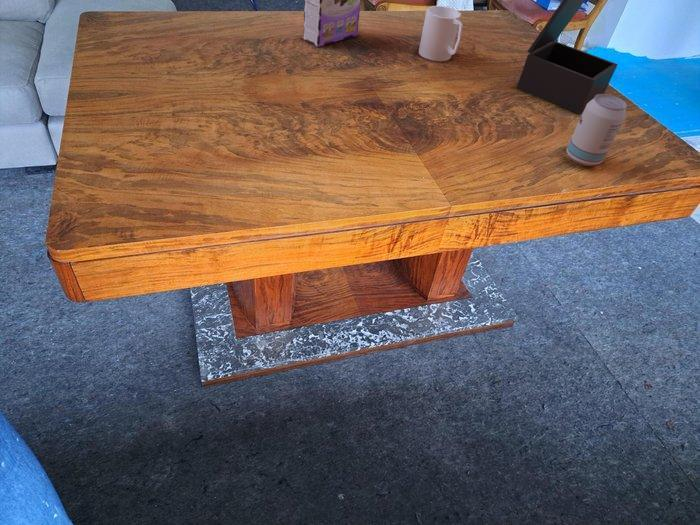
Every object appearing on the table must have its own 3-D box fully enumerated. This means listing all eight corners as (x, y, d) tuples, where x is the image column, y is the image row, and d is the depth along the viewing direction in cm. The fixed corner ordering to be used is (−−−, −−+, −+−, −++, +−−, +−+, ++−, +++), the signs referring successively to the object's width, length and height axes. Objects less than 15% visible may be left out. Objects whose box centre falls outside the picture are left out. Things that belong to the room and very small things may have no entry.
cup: (440, 69, 121) (449, 26, 114) (412, 49, 128) (419, 7, 121) (466, 65, 124) (478, 22, 117) (438, 45, 131) (447, 4, 124)
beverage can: (572, 145, 101) (598, 88, 93) (605, 159, 99) (635, 102, 90) (558, 158, 97) (584, 100, 89) (593, 173, 94) (623, 115, 86)
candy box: (342, 28, 134) (348, -42, 122) (358, 36, 131) (365, -35, 119) (302, 39, 126) (304, -35, 114) (317, 47, 123) (321, -28, 112)
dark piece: (602, 96, 119) (618, 64, 114) (578, 114, 111) (594, 80, 106) (542, 72, 126) (554, 40, 120) (516, 88, 118) (527, 54, 112)
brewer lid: (606, -28, 107) (574, -53, 109) (579, -18, 99) (546, -44, 101) (556, 39, 120) (529, 17, 122) (529, 53, 112) (500, 29, 114)
